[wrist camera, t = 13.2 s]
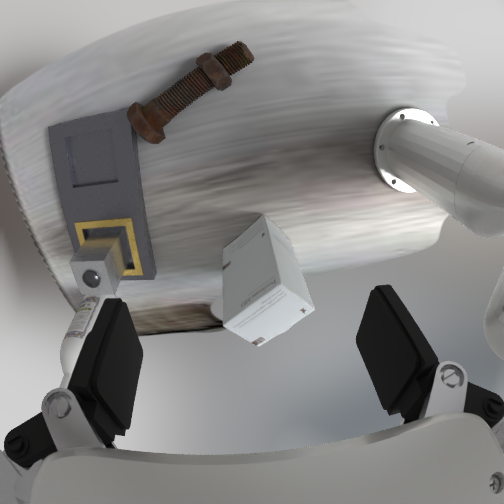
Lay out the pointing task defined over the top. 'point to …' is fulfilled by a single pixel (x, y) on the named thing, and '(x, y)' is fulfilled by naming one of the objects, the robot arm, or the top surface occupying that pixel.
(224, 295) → the skincare box
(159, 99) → the bolt
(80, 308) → the bath foam
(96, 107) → the top surface
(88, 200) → the grey slotted board
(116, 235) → the brushed steel block
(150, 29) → the top surface
